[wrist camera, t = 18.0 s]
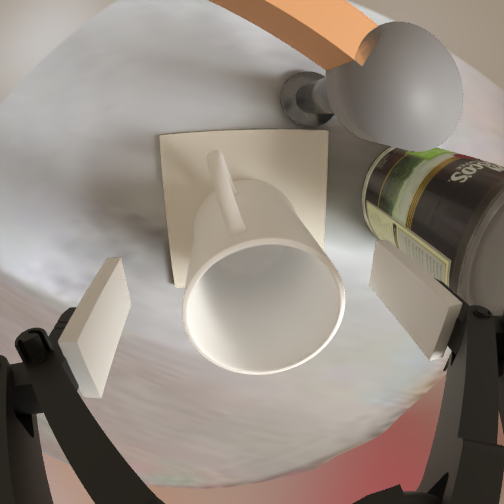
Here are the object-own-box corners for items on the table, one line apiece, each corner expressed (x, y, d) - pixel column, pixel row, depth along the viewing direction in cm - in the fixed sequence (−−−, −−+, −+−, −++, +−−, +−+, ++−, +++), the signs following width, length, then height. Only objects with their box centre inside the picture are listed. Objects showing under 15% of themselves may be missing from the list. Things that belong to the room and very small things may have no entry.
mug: (169, 154, 23) (126, 187, 12) (279, 128, 23) (332, 138, 12) (209, 287, 28) (206, 390, 17) (304, 264, 28) (353, 355, 17)
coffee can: (360, 139, 24) (477, 170, 12) (452, 144, 25) (567, 179, 12) (356, 252, 29) (439, 348, 16) (442, 242, 29) (533, 314, 16)
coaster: (175, 284, 28) (175, 287, 28) (160, 135, 23) (159, 135, 22) (319, 275, 29) (320, 278, 29) (326, 130, 24) (328, 130, 23)
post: (280, 125, 24) (328, 132, 13) (280, 71, 22) (327, 37, 11) (334, 127, 24) (412, 139, 13) (334, 75, 22) (412, 53, 12)
